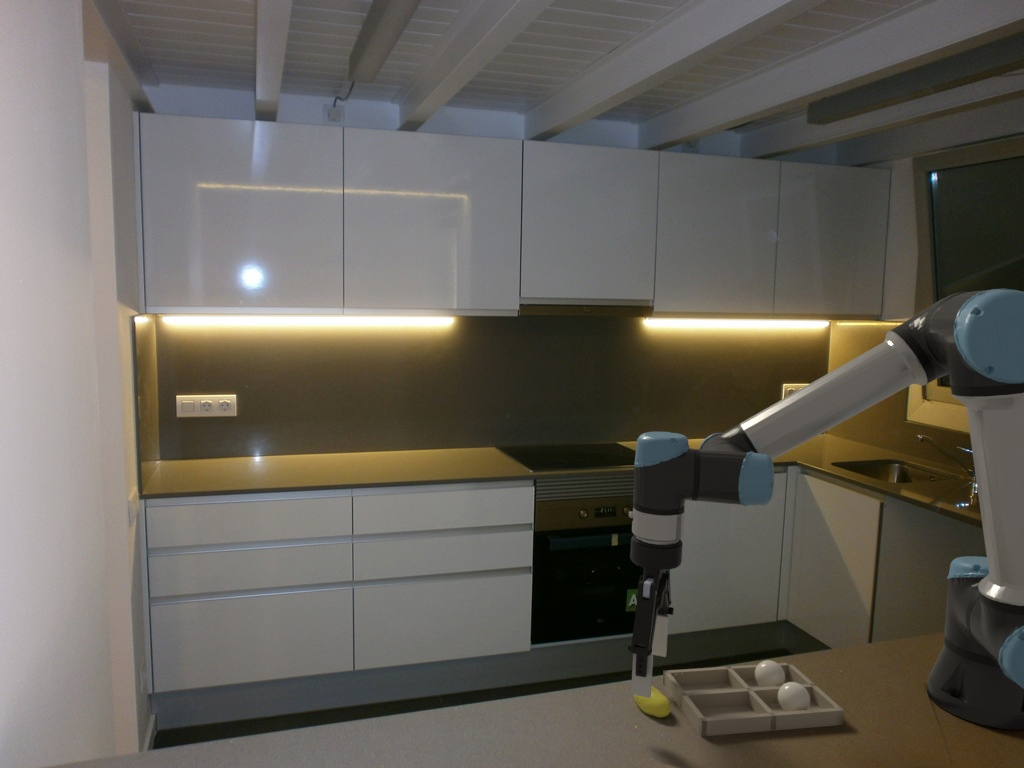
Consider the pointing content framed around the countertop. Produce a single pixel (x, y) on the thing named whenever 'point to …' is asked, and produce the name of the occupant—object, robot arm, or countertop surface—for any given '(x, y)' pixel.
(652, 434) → the robot arm
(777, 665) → the egg back right
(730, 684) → the divided tray
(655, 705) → the yellow oval piece
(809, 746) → the countertop surface
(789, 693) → the egg back left
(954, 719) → the countertop surface
